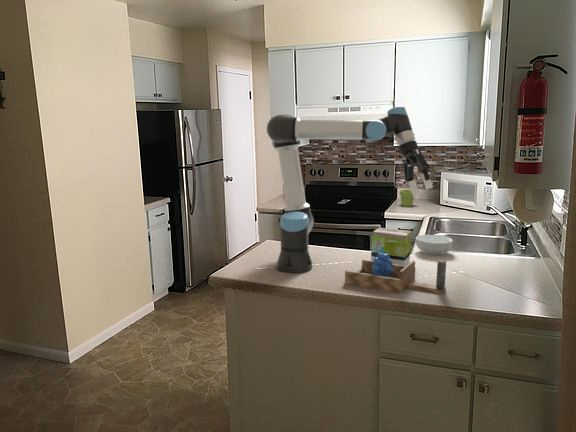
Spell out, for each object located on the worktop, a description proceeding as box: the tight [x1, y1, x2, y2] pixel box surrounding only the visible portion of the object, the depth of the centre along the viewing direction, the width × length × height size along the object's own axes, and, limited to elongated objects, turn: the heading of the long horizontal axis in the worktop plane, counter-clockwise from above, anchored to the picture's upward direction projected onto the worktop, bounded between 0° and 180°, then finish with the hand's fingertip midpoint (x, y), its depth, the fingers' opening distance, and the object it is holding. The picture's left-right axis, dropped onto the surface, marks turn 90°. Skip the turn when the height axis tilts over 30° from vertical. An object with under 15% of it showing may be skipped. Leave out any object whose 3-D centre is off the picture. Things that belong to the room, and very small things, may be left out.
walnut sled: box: [344, 259, 447, 295], centre depth 186 cm, size 36×18×12 cm, turn 59°
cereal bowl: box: [415, 234, 453, 256], centre depth 231 cm, size 17×17×7 cm
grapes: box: [372, 253, 393, 278], centre depth 189 cm, size 12×7×12 cm, turn 130°
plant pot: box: [398, 189, 415, 208], centre depth 354 cm, size 12×12×11 cm
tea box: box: [370, 227, 412, 266], centre depth 214 cm, size 15×10×15 cm, turn 62°
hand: (422, 192), depth 199 cm, fingers open, 13 cm apart
